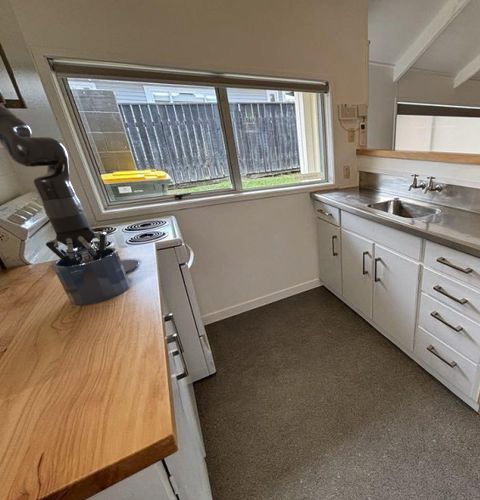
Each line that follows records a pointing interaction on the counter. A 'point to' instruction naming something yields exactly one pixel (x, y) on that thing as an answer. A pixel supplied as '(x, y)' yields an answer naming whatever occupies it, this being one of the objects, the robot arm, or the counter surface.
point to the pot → (92, 278)
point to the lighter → (86, 258)
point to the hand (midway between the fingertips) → (90, 267)
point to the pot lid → (129, 265)
